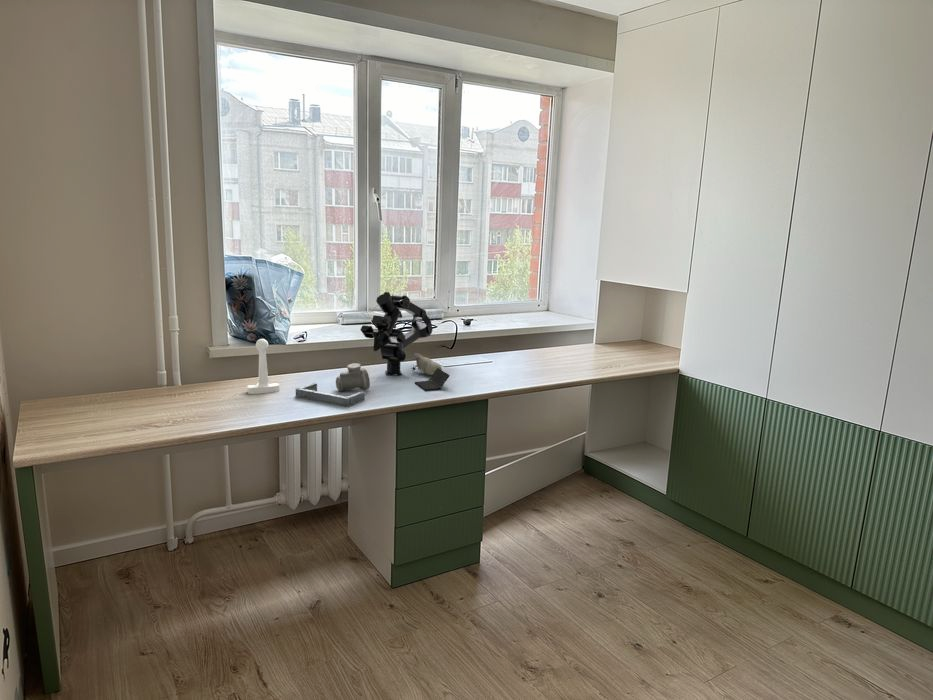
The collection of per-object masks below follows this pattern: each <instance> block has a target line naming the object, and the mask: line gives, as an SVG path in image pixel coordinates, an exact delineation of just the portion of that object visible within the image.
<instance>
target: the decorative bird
mask: <svg viewBox="0 0 933 700" xmlns="http://www.w3.org/2000/svg"><path fill="white" fill-rule="evenodd" d="M413 355H414V356H415V359H416V360H415V361H416V363H415V364H416V365H415V366H414V365H412V371H413V372H415V371H416V370H417V371H421V372H422V373H423V374H424V375H429V376H432V375H433V374H434V372H435V371H436V369H437V368H438V369H440V370H442V371H443V369H442V367H441V365H440V363H438V362H437V361H434V360H432V359H431V358H429V357H425V356H423V355H422V354H420V353H418V352H415V353H414V354H413ZM416 368H417V369H416ZM412 371H411V372H412Z"/></svg>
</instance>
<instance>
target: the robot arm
mask: <svg viewBox="0 0 933 700" xmlns="http://www.w3.org/2000/svg"><path fill="white" fill-rule="evenodd" d="M376 303H377V305H378V307H379V308H380V310H381V312H382V313H384V315H383V316H382V315H375V314H374V315H372V319H371V324H374V325H375V326H374V327H375V328H374V327H373V326H372V325H367V324H363V325H362V326H361V328H360V331H361V333H362V334H363V336H364V337H365V338H366V339H373V351H374V352H377V351H379V350H380V353H381V354H380V355H381V358H382V360H386V370H385V374H386V376H402V375H403V373H402V371H401V362H404V361H405V360H406V353H405V352H404V349H405V348H408V346H410V345H411V344H413V343H414V342H416V341H417V340H419V339H421V338H422V339H423V338H427V337H430V336H431V335H432V333H433V324H432V320H431V319H430V317H429V316H428V314H427V311H426V309H424V308H421V307H420V306H418V305H417V304H415V303H413V302H411V299H410V297H409V296H407V295H405V294H397V293H393V294H391V293H390V292H389V291H384V293H382V294H380V295H378V296H377V298H376ZM401 310H402V311H405V312H407V313H408V314H410V315H411V316H412V317H413V318H412V320H411V330H409V331H408V332H406V333H405V334H404V332H403V331H402V329H399V328H398V329H397V325H396V324H397V322H398V319H399V318H400V319H401V318H403V314H402V311H401ZM418 318H421V320H422V321H423V322H421V321H420V322H418V321H417V319H418Z"/></svg>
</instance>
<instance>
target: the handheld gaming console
mask: <svg viewBox="0 0 933 700" xmlns="http://www.w3.org/2000/svg"><path fill="white" fill-rule="evenodd" d="M449 378H450V374H448V373H447V372H445V371H443V369H442V370H440V369H438V368H437V369H436V371H435V372H434V374H433V375H430V378H429V379H428V380H420V381H414V384H415V385H416V386H417V387H419V388H420V389H421V390H423V391H424V392H432V391H433V392H434V391H441V390H442V388H443V386H444V384H445V383H446V382H447V380H448V379H449Z"/></svg>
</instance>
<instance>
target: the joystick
mask: <svg viewBox="0 0 933 700" xmlns="http://www.w3.org/2000/svg"><path fill="white" fill-rule="evenodd" d="M255 348H256V349H257V350H258V382H257V383H256V384H251V385H250V384H249V385H247V386H246V389H247V394H248V395H249V394H251V395H252V394H253V395H255V394H256V395H258V394H268V393H269V394H270V393H277V392H279V391H280V384H279V383H278V382H274V383H270V382H269V375H268V363H267V353H266V351H267V349H268V348H269V342H268V340H266V339H265V338H259V339H258V340H256V343H255Z"/></svg>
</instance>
